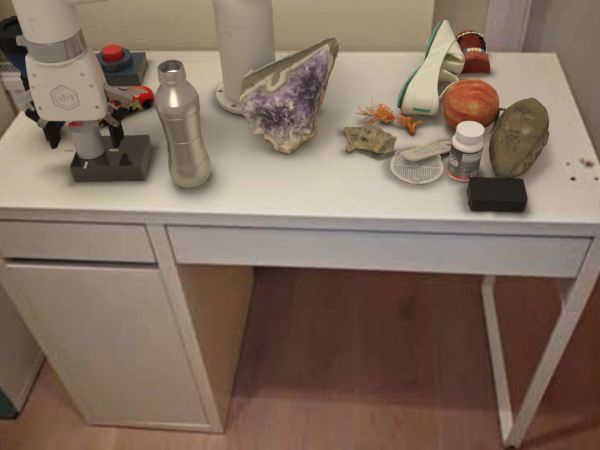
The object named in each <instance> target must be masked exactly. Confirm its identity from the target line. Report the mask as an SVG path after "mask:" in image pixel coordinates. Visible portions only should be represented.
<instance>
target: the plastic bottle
mask: <svg viewBox="0 0 600 450" xmlns="http://www.w3.org/2000/svg"><path fill="white" fill-rule="evenodd" d="M156 71H157V80H158V82H159V85H158V87H157V89H156V91H155V94H154V103H153V106H154V109H155V113H156V114H157V116H158V119H159V121H160V124H161V127H162V130H163V131H162V132H163V134H164V137H165V141H166V148H167V157H168V158H167V164H168V165H167V167H168V173H169V175H170V178H171V180H172V181H173V183H175V184H176V185H178V186H179V187H181V188H184V189H185V188H186V189H194V188H198V187H200V186H202V185H203V184H205V183H206V181H208V179H209V177H210V175H211V171H212V162H211V159H210V156H209V154H208V152H207V150H206V145H205V142H204V139H203V135H202V127H201V107H200V106H201V105H200V104H201V103H200V102H201V101H200V95H199V93H198V91H197V89H196V88H195V87H194V86H193V85H192V84H191V82H190V81H188V80H187V72H186V71H185V65H184V63H183V61H181V60H179V59H174V58H173V59H172V58H171V59H166V60H164V61H161V62H160V63H159V64H158V65H157V68H156Z"/></svg>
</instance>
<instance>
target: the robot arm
mask: <svg viewBox="0 0 600 450" xmlns="http://www.w3.org/2000/svg"><path fill="white" fill-rule="evenodd" d="M106 1H108V0H11V3H12V6H13V9H14V12H15V15H16V16H17V17H18V20H19V23H20V26H21V29H22V32H23V35H22V36H17V37H16V43H17V45H18V46H24V47H26V48H27V51H28V54H27V55H26V57H25V60H26V69H27V75H28V81H29V86H30V89H29V90H28V91H26V92H25V91H24V92H23V93H20V94H19V95H17V96H16V98H15V99H14V104H15V105H16V106H17V108H18V109H20V111H21V112H23V113H24V115H25V116H26V118H28V119H30V120H32V121H33V122H35V123H36V126H37V127H38V128H40V129H42V133H43V135H44V137H45V140H46V142H48V143H49V146H50V149H51V150H56V149H58V147H59V144H60V142H61V140H62V134H61V132H60V131H59V128H58V125H57V123H56V121H66V122H72V121H91V120H100V119H102V118H103V119H104V120H105V121H107V122H108V123H109V126H107V127H108V132H109V136H111V140H112V144H113V147H115V148H119V145H120V142H121V140H123V139H124V135H125V132H124V127H123V124H122V123H123V122H122V121H123V120H124V118H126V117H127V116H128V115H127V113H128V110H129V108H130V105H131V102H132V99H133V95H132V94H130V93H127V92H125V91H122V90H120V89H117V88H118V87H117V88H116V86H109V85H107V82H106V79H105V76H104V73H103V71H102V68H101V66H100V64H99V61H98V59H97V57H96V55H95V51H94V50H93V48H92V47H91V45H90V44H87V43H86V40H85V37H84V32H83V29H82V26H81V22H80V18H79V15H78V11H77V7H76V6H77V5H83V4H93V3H100V2H106ZM212 6H213V14H214V22H215V23H214V24H215V31H216V38H217V46H218V54H219V62H220V69H221V77H222V82H221V83H220V84H219V85H218V86H217V87H216V91H215V97H216V102H217V104H218V105H219V106H220V107H221V108H222V109H224V110H225V111H227V112H229V113H232V114H236V115H243V113H242V110H241V106H240V93H241V88H242V82H243V79H244V78H243V77H244V76H245V74H246V73H248V72H249V71H250V70H252V69H253V71H255V70H258V69H259V68H260V67H263V66H264V65H266V64H268V63H271V62H273V61H277V60H276V46H275V33H274V32H275V30H274V16H273V14H274V12H273V0H212ZM111 99H114V100H117V101H119V102H120V103H121V106H120V107H119V108H116V107H115V106H114V105H113V104H111V103H110V102H111ZM32 100H33V101H34V105H35V106H33V105H31V103H30V101H32ZM126 115H127V116H126ZM243 116H244V115H243Z"/></svg>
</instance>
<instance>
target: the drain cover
mask: <svg viewBox="0 0 600 450" xmlns="http://www.w3.org/2000/svg"><path fill="white" fill-rule="evenodd" d="M404 151H405V150H403V151H400V150H396V151H395V152H394V156H393V157H392V158H391V159H390V163H389V167H390V171H391V173H392V174H393V176H394V177H396V178H397V179H398V180H400V181H403V182H404V183H407V184H412V185H426V184H427V185H428V184H430V183H431V184H432V183H434V182H435V181H437V180H438V179H440V178H441V177H442V175H443V173H444V169H445V167H444V163H443V161H442V156H441V154H440V155H436V156H433V157H429V158H425V159H421V160H417V161H411V160H407V159H405V158H403V156H402V153H403V152H404Z"/></svg>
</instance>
